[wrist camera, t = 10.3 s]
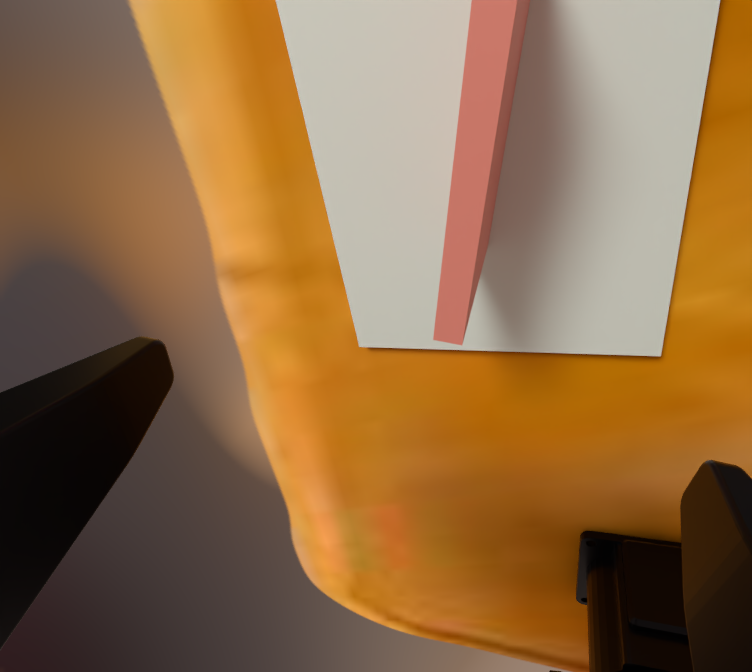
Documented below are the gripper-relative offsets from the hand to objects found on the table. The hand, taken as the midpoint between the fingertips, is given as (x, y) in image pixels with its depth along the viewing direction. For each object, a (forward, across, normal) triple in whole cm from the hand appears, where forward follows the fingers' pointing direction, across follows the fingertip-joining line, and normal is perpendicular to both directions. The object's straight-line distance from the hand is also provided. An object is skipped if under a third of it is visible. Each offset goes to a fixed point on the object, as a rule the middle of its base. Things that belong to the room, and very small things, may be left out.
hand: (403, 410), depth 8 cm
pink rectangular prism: (+8, 0, +2) cm, 8 cm away
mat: (+12, 0, 0) cm, 12 cm away
